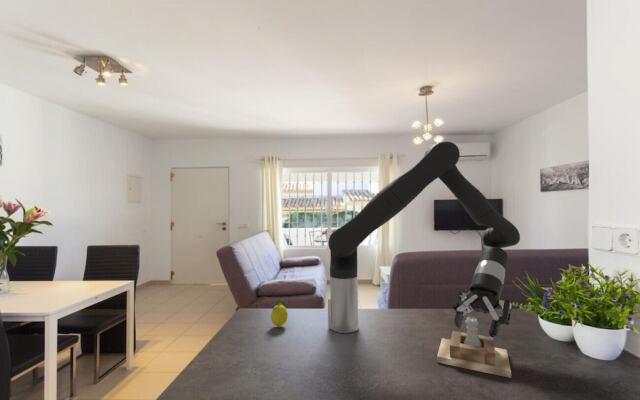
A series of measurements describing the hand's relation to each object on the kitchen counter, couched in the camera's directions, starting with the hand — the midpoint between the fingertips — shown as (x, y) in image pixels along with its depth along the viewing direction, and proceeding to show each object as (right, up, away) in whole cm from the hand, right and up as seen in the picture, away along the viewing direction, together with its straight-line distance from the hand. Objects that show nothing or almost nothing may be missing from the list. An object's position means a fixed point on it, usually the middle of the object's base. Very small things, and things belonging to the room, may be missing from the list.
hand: (473, 330), depth 78 cm
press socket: (-1, -7, -1) cm, 7 cm away
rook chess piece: (-1, -5, -1) cm, 5 cm away
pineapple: (-54, -9, +22) cm, 59 cm away
